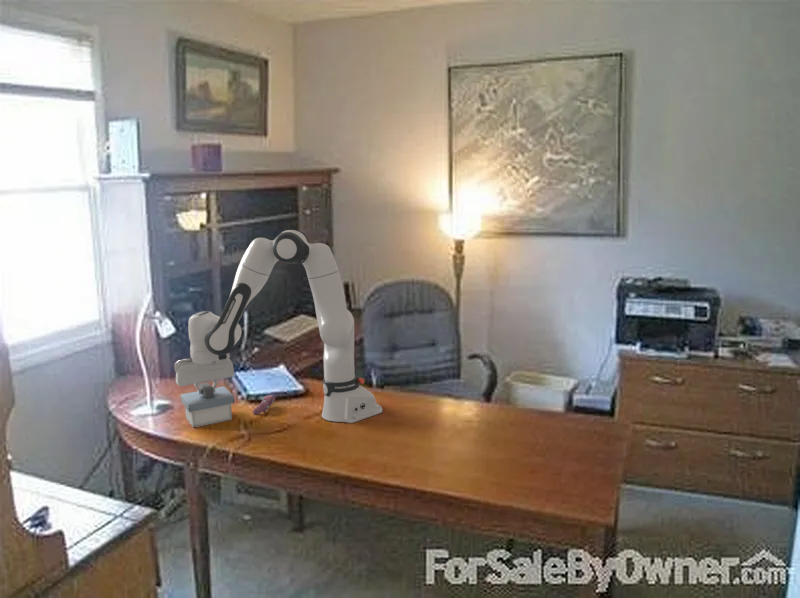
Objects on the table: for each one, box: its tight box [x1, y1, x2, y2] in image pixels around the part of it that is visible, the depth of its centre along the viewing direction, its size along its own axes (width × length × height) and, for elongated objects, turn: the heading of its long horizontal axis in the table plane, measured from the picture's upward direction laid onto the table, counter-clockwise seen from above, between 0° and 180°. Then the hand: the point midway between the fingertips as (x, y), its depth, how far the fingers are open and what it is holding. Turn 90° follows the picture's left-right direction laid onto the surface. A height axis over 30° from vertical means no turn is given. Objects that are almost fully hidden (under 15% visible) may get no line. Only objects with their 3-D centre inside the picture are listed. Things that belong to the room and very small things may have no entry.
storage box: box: [184, 404, 233, 429], centre depth 233 cm, size 14×11×8 cm
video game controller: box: [252, 394, 276, 416], centre depth 241 cm, size 10×5×7 cm, turn 169°
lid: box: [180, 381, 235, 412], centre depth 232 cm, size 16×13×6 cm
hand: (206, 392), depth 232 cm, fingers closed on lid, 3 cm apart
